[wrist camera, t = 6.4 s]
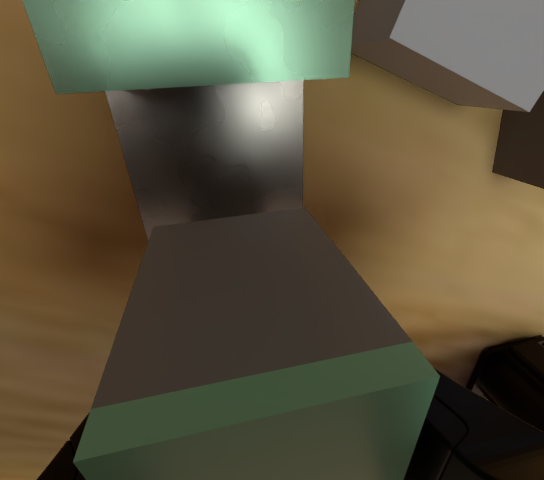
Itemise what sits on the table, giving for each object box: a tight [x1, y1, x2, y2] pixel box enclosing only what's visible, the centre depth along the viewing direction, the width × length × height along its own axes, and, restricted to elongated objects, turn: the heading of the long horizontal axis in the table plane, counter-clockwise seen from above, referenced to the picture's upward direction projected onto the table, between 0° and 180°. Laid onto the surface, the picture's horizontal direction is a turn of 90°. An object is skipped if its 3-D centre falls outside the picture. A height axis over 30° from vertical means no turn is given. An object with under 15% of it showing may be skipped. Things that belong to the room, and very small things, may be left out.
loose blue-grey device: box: [351, 0, 544, 112], centre depth 11 cm, size 5×7×4 cm
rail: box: [22, 0, 355, 241], centre depth 12 cm, size 23×7×7 cm, turn 3°
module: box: [73, 208, 440, 480], centre depth 8 cm, size 6×4×6 cm
